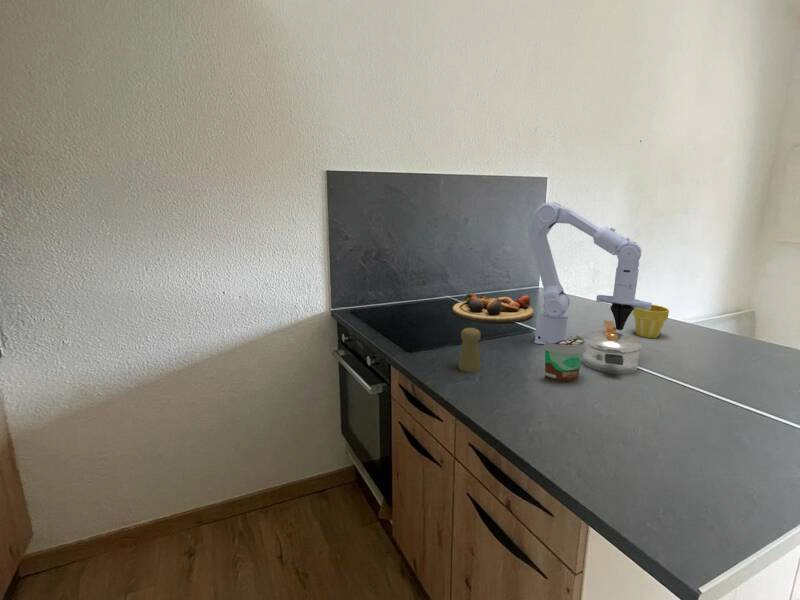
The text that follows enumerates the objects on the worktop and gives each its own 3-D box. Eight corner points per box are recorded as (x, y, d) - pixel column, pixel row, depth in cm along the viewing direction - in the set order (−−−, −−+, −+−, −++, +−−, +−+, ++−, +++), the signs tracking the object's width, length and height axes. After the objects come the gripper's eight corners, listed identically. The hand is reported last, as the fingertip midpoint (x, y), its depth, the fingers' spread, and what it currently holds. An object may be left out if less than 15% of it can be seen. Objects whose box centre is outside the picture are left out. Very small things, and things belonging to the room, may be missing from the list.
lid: (645, 355, 109) (647, 344, 109) (583, 348, 114) (584, 337, 114) (634, 333, 128) (635, 323, 127) (581, 327, 133) (582, 318, 132)
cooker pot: (642, 381, 109) (646, 359, 107) (583, 373, 113) (585, 352, 112) (630, 353, 129) (633, 334, 127) (580, 347, 133) (582, 328, 132)
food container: (559, 387, 105) (563, 349, 102) (540, 378, 110) (543, 341, 108) (593, 378, 110) (598, 341, 108) (574, 370, 115) (578, 335, 113)
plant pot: (669, 341, 140) (674, 312, 138) (635, 338, 142) (639, 310, 140) (658, 331, 150) (662, 304, 148) (626, 329, 152) (629, 302, 150)
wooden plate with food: (531, 306, 185) (532, 287, 183) (535, 326, 155) (537, 304, 153) (457, 302, 192) (457, 284, 191) (447, 321, 162) (447, 300, 161)
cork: (482, 365, 118) (484, 327, 116) (478, 373, 113) (480, 333, 110) (460, 362, 120) (462, 324, 118) (455, 370, 115) (457, 331, 112)
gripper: (657, 286, 121) (650, 331, 125) (604, 279, 132) (599, 321, 135) (649, 289, 117) (642, 337, 120) (595, 282, 127) (590, 326, 130)
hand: (619, 329), depth 127 cm, fingers closed
